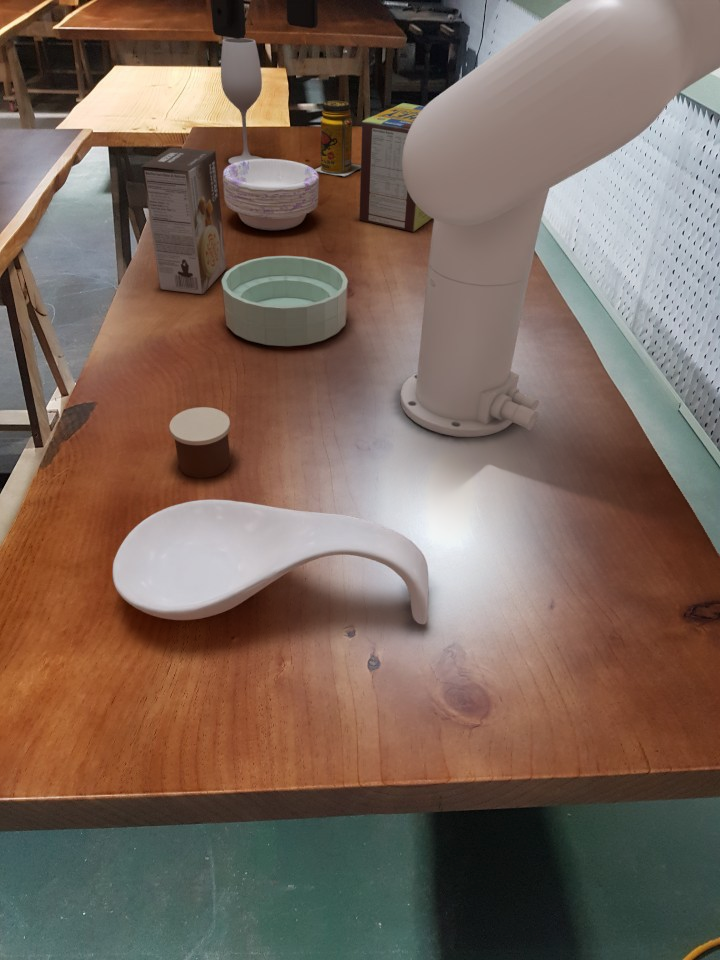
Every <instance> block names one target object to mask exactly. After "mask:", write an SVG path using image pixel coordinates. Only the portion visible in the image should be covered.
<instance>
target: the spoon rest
mask: <svg viewBox="0 0 720 960" xmlns="http://www.w3.org/2000/svg"><path fill="white" fill-rule="evenodd" d="M341 555H342V556H354V557H360V558H365V559H369V560H372V561H375V562H376V563H379V564H381V565H384V566H386V567H388V568H389V569H391V570H392V571H393V572H395V573H396V574H397V575H398V576H399V577H400V578H401V580H402V581H403V582H404V583H405V585H406V588H407V591H408V595H409V600H410V607H411V615H412V618H413V620H414V621H415V622H416V623H417V624H420V625H425V624H426V623H427V621H428V618H429V568H428V567H429V566H428V563H427V559H426V557H425V555H424V553H423V552H422V550H421V549H420V548H419V547H418V545H416V543H415V542H413V541H412V540H411V539H409V538H408V537H406V536H405V535H404V534H402V533H399V532H398V531H397V530H394V529H392V528H389V527H387V526H384V525H382V524H379V523H378V522H375V521H372V520H368V519H363V518H361V517H356V516H351V515H345V514H340V513H330V512H329V513H327V512H315V511H314V512H313V511H305V510H295V509H289V508H281V507H277V506H276V507H275V506H270V505H264V504H258V503H252V502H247V501H236V500H230V499H199V500H193V501H192V500H191V501H186V502H182V503H178V504H175V505H171V506H169V507H166V508H163V509H161V510H159V511H157V512H155V513H153V514H151V515H149V516H148V517H146V518H145V519H144V520H142V521H140V523H139V524H137V525H136V526H135V527H134V528H132V530H131V531H130V532H129V533H128V534H127V535H126V537H125V538H124V540H123V541H122V543H121V545H120V546H119V547H118V549H117V552H116V554H115V557H114V558H113V563H112V581H113V585H114V588H115V590H116V591H117V593H118V594H119V596H120V597H121V598H122V599H123V600H124V601H126V602H127V603H128V604H129V605H130V606H132V607H134V608H135V609H137V610H139V611H141V612H143V613H145V614H148V615H150V616H153V617H156V618H160V619H164V620H165V619H166V620H172V621H191V620H199V619H200V620H201V619H204V618H209V617H212V616H217V615H219V614H222V613H225V612H226V611H229V610H232V609H234V608H235V607H237V606H239V605H241V604H242V603H243V602H244V601H247V600H248V599H249V598H251V597H252V596H254V595H255V594H257V593H258V592H260V591H261V590H263V589H264V588H266V587H267V586H269V585H271V584H272V583H273V582H275V581H277V580H279V579H280V578H281V577H283V576H285V575H286V574H288V573H290V572H291V571H293V570H296V569H297V568H299V567H301V566H303V565H306V564H307V563H310V562H312V561H315V560H318V559H321V558H326V557H330V556H341Z"/></svg>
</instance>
